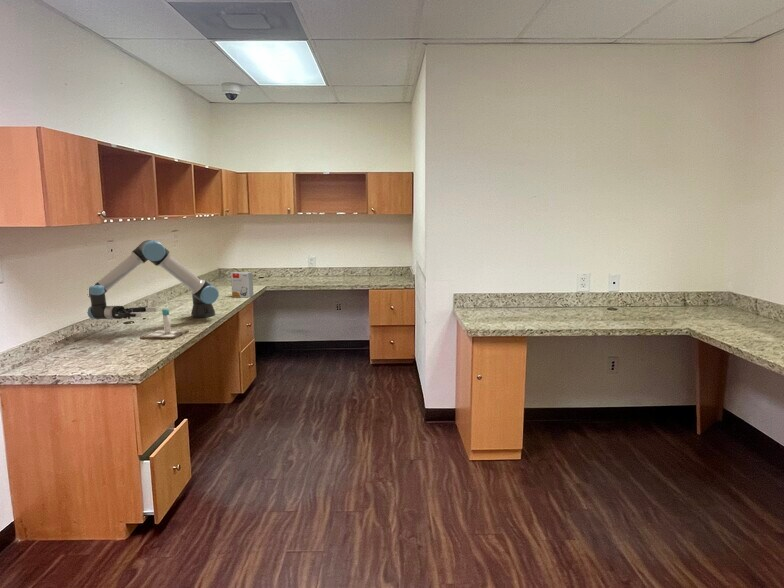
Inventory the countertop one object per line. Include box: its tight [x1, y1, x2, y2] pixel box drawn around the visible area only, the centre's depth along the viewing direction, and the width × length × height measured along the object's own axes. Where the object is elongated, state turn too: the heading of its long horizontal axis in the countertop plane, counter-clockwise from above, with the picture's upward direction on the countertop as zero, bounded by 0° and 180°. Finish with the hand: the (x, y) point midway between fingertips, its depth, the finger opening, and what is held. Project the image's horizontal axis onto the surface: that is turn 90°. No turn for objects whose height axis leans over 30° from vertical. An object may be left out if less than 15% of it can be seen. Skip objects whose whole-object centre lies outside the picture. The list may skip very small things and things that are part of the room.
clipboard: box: [139, 329, 190, 340], centre depth 286 cm, size 16×20×2 cm
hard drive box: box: [230, 271, 255, 299], centre depth 405 cm, size 16×8×20 cm, turn 77°
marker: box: [161, 308, 172, 334], centre depth 285 cm, size 3×3×14 cm
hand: (149, 312), depth 285 cm, fingers open, 13 cm apart
